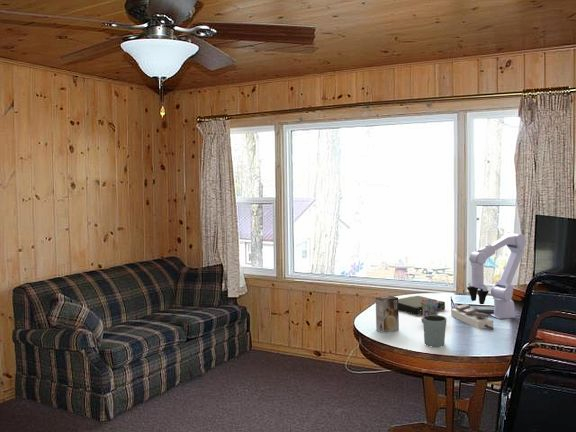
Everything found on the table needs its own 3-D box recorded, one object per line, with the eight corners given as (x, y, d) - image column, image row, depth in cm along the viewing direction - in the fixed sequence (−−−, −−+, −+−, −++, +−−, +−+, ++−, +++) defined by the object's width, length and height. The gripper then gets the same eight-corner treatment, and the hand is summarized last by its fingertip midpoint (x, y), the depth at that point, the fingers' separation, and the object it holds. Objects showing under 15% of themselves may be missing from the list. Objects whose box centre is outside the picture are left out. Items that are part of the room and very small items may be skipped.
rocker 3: (483, 315, 282) (483, 313, 282) (487, 317, 278) (488, 314, 278) (472, 314, 281) (473, 311, 281) (476, 316, 277) (477, 313, 277)
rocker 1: (466, 306, 298) (465, 303, 298) (470, 307, 294) (469, 305, 294) (455, 309, 297) (455, 306, 296) (459, 311, 293) (459, 308, 292)
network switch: (421, 317, 299) (421, 307, 299) (387, 309, 318) (387, 300, 317) (448, 309, 314) (448, 300, 314) (414, 302, 332) (414, 294, 332)
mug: (438, 324, 283) (437, 303, 282) (419, 323, 287) (418, 302, 286) (441, 318, 294) (441, 298, 293) (422, 317, 298) (422, 297, 297)
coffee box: (391, 327, 281) (390, 295, 279) (399, 330, 275) (398, 297, 274) (375, 330, 276) (375, 297, 275) (383, 333, 271) (383, 299, 269)
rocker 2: (474, 309, 290) (473, 306, 290) (478, 311, 286) (478, 308, 286) (463, 313, 289) (463, 310, 289) (468, 314, 285) (467, 312, 285)
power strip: (465, 314, 301) (465, 307, 301) (499, 330, 271) (499, 322, 270) (451, 315, 300) (451, 308, 299) (484, 331, 269) (484, 323, 269)
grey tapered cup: (431, 339, 259) (431, 313, 258) (451, 344, 251) (451, 317, 250) (418, 344, 252) (418, 317, 251) (437, 349, 245) (437, 322, 244)
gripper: (462, 273, 293) (463, 299, 294) (478, 278, 279) (478, 306, 280) (475, 272, 295) (475, 298, 296) (491, 277, 281) (491, 305, 282)
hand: (477, 302), depth 288 cm, fingers open, 7 cm apart
